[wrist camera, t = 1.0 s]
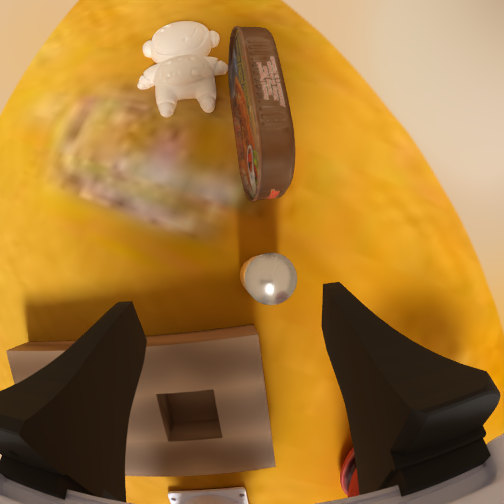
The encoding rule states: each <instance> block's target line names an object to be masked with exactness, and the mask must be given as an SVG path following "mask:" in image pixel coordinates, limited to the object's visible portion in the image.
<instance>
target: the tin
mask: <svg viewBox="0 0 504 504" xmlns="http://www.w3.org/2000/svg"><path fill="white" fill-rule="evenodd" d="M228 77H229V89H230V99H231V107H232V114H233V122H234V130H235V138H236V146H237V153H238V161H239V168H240V174H241V179H242V183H243V187H244V190H245V193H246V196H247V197H248V199H249V200H250V201H252V202H253V201H255V200H259V199H271V198H278V197H281V196H282V195H283V194H284V193H285V192H286V190H287V189H288V187H289V186H290V184H291V181H292V178H293V173H294V165H295V138H294V128H293V122H292V117H291V112H290V106H289V101H288V97H287V92H286V87H285V83H284V78H283V74H282V69H281V65H280V61H279V57H278V53H277V49H276V45H275V42H274V39H273V36H272V34H271V33H270V32H269V31H268V30H267V29H265V28H259V27H238V26H235V27H234V28H233V30H232V33H231V37H230V45H229V64H228Z"/></svg>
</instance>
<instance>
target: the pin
mask: <svg viewBox="0 0 504 504" xmlns="http://www.w3.org/2000/svg"><path fill="white" fill-rule="evenodd" d="M240 280H241V283H242V285H243V287H244V288H245V289H246V290H247V291H248V293H249V294H250V295H251V296H252V297H253V298H254V299H255V300H257V301H258V302H260V303H263V304H267V305H275V304H279V303H282V302H284V301H285V300H287V299H288V298H289V297H290V296H291V295H292V293H293V292H294V290H295V287H296V283H297V274H296V270H295V268H294V266H293V264H292V263H291V261H290V260H289V259H287V258H286V257H285V256H283V255H281V254H278V253H265V254H261V255H258V256H254V257H251V258H249V259H248V260H247V261H246V262H245V263H244V264H243V265H242V267H241V270H240Z"/></svg>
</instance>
